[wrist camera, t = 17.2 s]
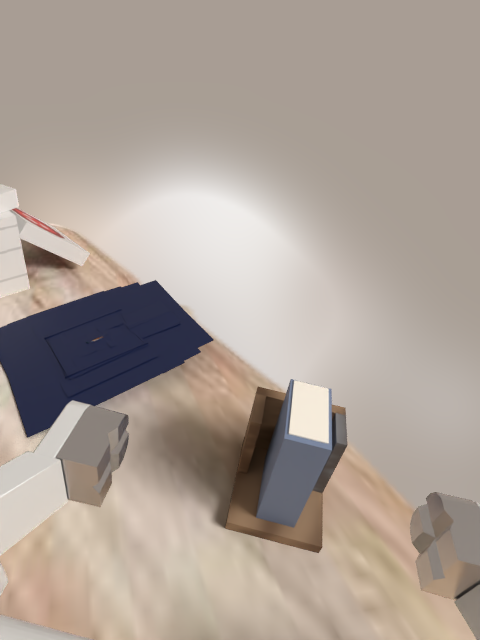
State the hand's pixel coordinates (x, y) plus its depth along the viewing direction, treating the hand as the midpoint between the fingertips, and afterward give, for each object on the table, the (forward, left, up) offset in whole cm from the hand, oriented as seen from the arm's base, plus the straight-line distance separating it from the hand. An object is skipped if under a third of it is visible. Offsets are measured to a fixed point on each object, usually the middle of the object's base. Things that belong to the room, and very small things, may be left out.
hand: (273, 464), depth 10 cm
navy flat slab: (-26, +40, -37) cm, 60 cm away
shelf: (+6, +22, -37) cm, 43 cm away
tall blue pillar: (+6, +21, -36) cm, 42 cm away
